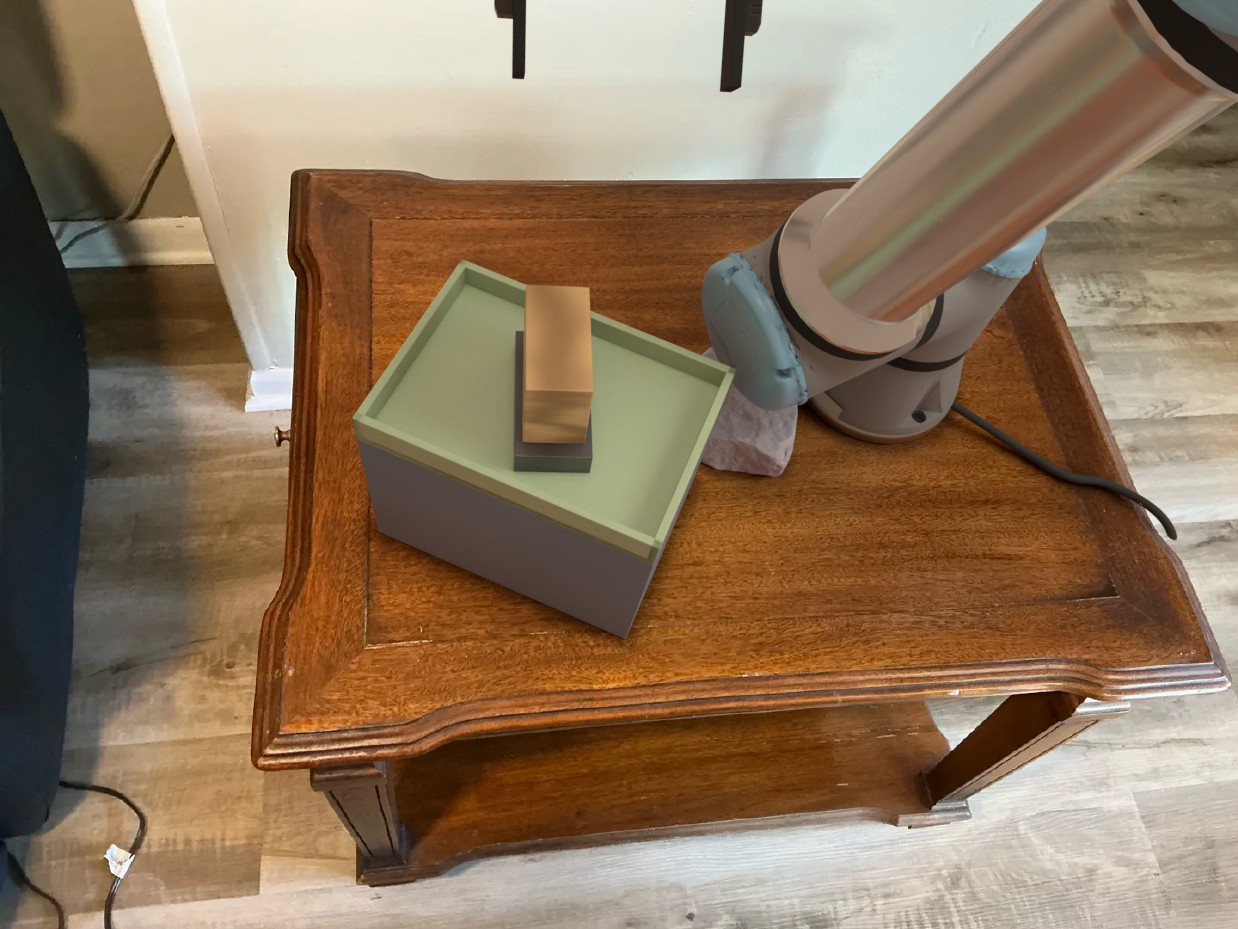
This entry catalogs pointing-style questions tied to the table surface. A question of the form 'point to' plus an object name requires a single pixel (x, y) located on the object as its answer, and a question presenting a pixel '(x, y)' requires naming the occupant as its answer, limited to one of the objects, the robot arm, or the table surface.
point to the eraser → (554, 382)
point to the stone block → (750, 435)
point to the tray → (484, 414)
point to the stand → (508, 542)
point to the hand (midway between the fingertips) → (625, 83)
